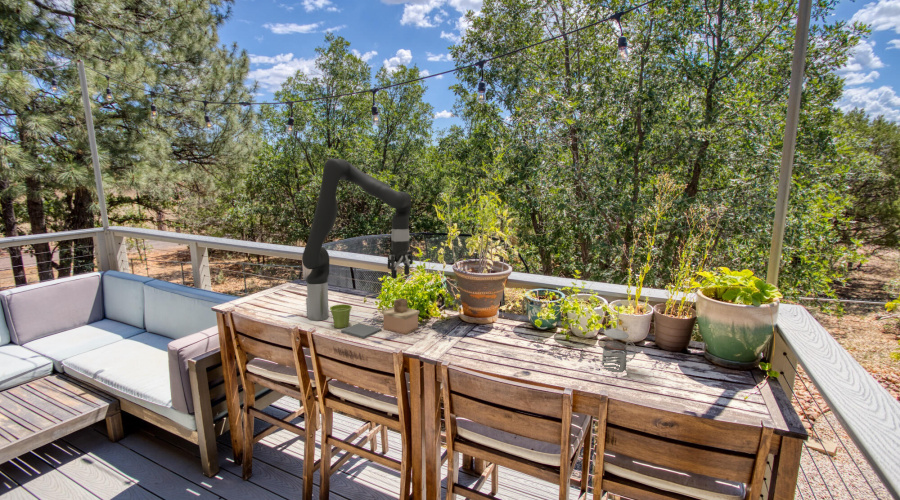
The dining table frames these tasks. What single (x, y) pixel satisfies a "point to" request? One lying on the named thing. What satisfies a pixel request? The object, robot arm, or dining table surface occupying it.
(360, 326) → the mat
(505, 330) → the dining table surface
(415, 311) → the lid
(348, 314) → the plant pot
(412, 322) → the box
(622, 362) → the french press
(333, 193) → the robot arm
